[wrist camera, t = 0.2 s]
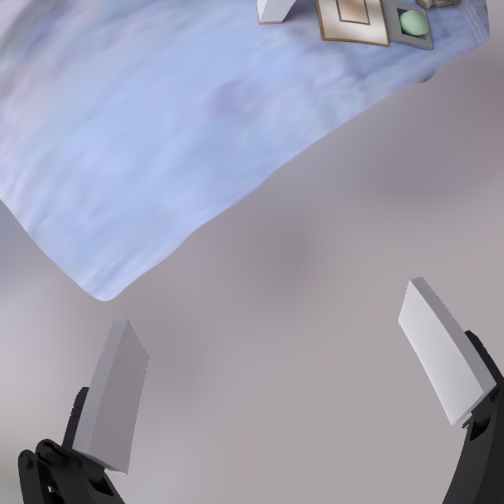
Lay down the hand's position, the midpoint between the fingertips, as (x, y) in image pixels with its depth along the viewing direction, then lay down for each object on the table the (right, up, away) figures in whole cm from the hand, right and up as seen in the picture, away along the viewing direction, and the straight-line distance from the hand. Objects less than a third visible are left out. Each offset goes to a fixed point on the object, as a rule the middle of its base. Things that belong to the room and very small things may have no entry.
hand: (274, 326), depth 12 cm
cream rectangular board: (+12, +37, +11) cm, 41 cm away
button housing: (+21, +36, +12) cm, 44 cm away
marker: (+1, +33, +12) cm, 35 cm away
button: (+21, +36, +11) cm, 43 cm away
